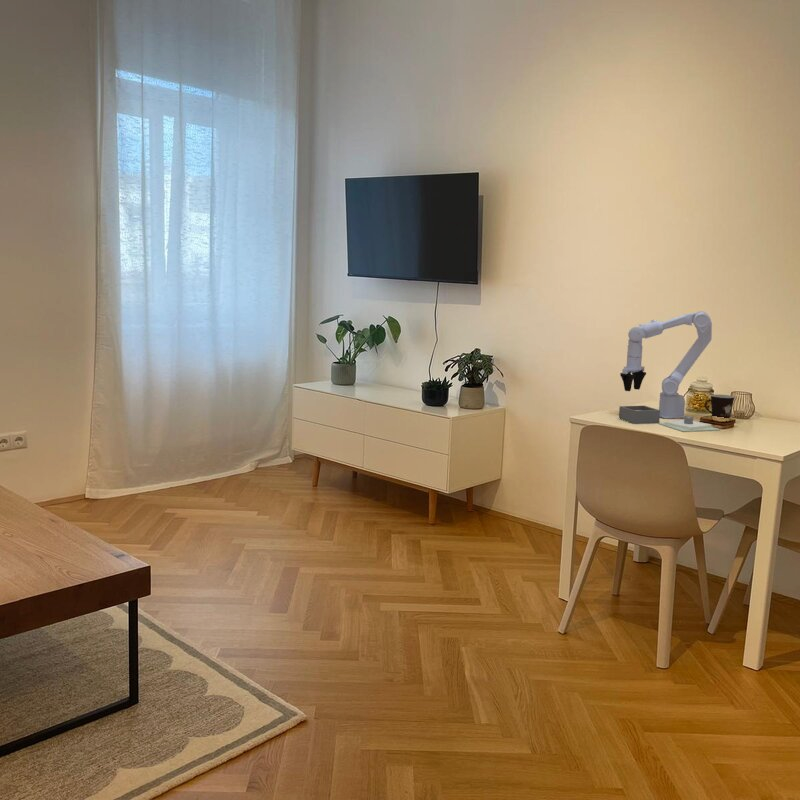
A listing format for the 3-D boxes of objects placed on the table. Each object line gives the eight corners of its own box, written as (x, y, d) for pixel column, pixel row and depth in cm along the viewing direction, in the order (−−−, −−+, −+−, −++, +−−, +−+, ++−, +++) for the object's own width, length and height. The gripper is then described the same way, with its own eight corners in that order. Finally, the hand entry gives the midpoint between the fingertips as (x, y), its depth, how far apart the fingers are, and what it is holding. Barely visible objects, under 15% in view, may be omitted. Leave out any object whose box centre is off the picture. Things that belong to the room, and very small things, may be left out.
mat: (693, 422, 325) (694, 421, 325) (720, 430, 310) (720, 429, 310) (658, 423, 320) (658, 422, 320) (683, 431, 305) (683, 430, 305)
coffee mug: (728, 419, 333) (730, 394, 331) (735, 423, 324) (737, 398, 322) (698, 418, 334) (700, 393, 332) (704, 422, 325) (706, 397, 324)
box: (643, 417, 333) (644, 405, 332) (659, 423, 322) (660, 410, 321) (618, 418, 330) (619, 406, 329) (634, 423, 319) (634, 411, 318)
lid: (685, 422, 323) (686, 413, 323) (711, 427, 313) (712, 418, 313) (664, 424, 317) (665, 415, 316) (690, 430, 307) (691, 420, 306)
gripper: (634, 354, 345) (632, 387, 347) (616, 357, 334) (614, 390, 336) (650, 356, 340) (647, 389, 342) (632, 358, 330) (630, 392, 332)
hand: (632, 390), depth 339 cm, fingers open, 7 cm apart
